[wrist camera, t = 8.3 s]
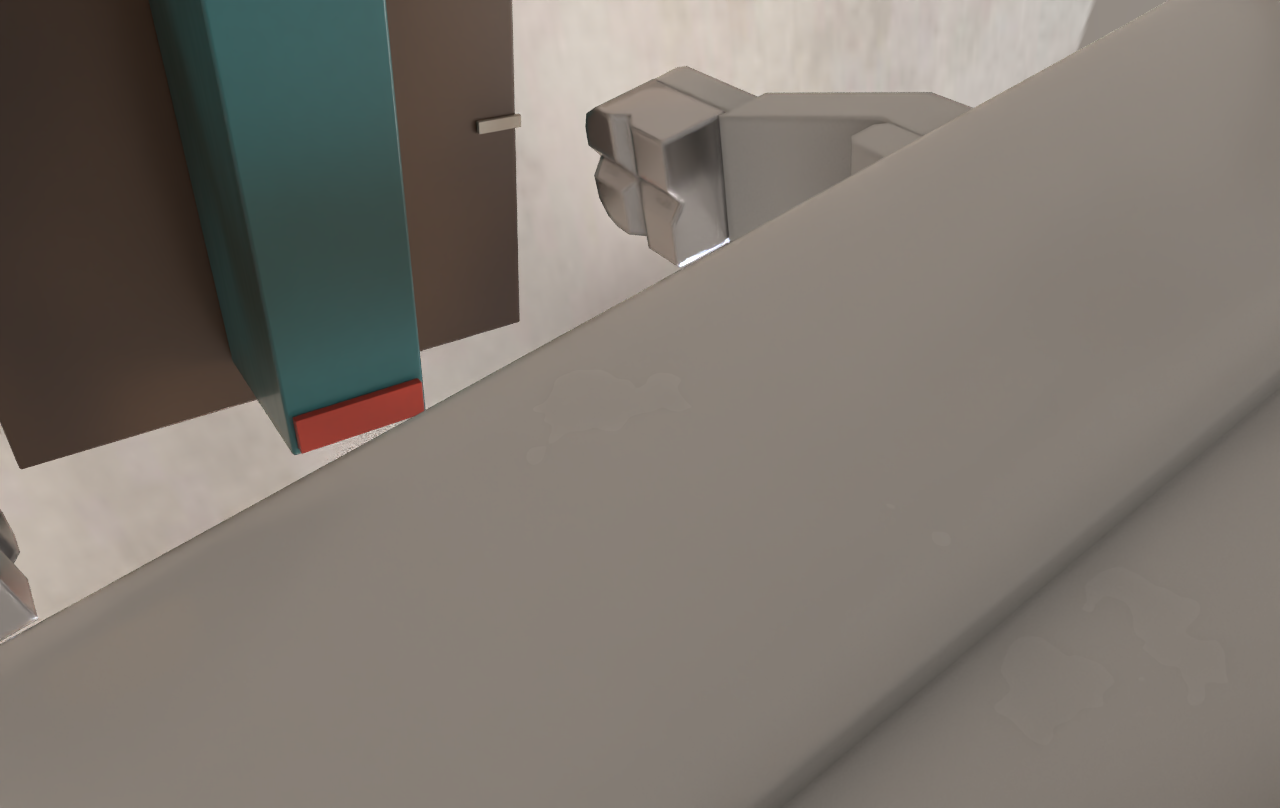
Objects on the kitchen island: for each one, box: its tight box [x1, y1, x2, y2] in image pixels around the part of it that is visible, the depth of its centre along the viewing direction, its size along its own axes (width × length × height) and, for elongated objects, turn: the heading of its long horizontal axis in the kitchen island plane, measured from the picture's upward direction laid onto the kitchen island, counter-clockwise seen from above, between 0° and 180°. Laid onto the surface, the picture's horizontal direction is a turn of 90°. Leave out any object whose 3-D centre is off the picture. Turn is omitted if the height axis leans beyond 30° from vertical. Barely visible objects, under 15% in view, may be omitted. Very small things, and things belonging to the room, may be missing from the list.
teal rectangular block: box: [149, 0, 425, 455], centre depth 23 cm, size 11×4×5 cm, turn 176°
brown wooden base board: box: [0, 0, 521, 469], centre depth 26 cm, size 15×15×3 cm
